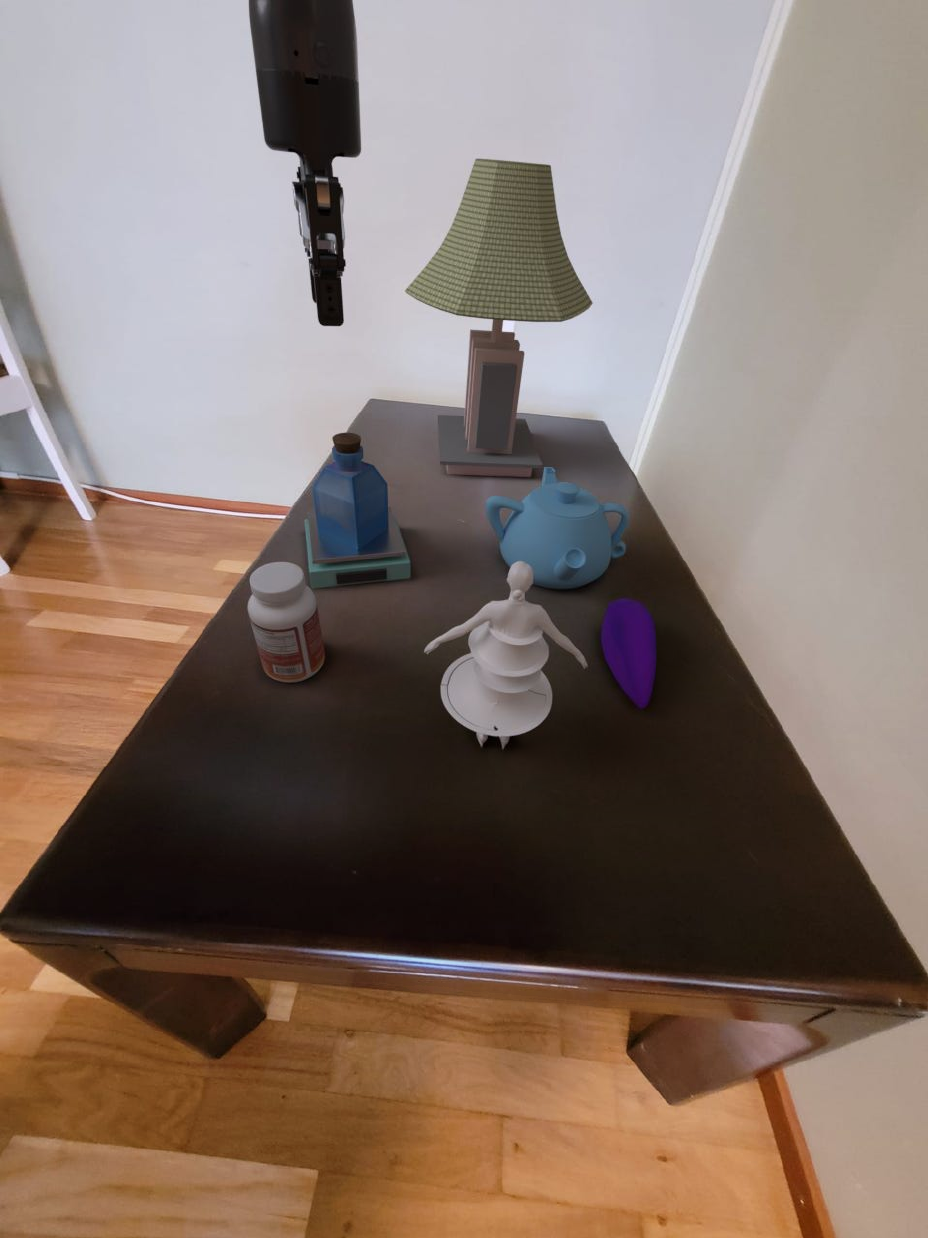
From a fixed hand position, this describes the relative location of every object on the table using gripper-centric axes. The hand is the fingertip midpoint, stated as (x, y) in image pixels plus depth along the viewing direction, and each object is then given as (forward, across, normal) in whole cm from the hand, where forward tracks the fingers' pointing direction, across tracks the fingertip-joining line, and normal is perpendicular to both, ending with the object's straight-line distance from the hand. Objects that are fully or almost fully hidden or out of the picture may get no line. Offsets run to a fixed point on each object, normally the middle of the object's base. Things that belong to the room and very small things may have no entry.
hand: (327, 313), depth 51 cm
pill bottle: (+29, +17, -7) cm, 34 cm away
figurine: (+28, +30, +10) cm, 43 cm away
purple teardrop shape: (+28, +24, +27) cm, 46 cm away
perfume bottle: (+25, -1, +1) cm, 25 cm away
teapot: (+28, +5, +26) cm, 39 cm away
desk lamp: (+28, -29, +27) cm, 49 cm away
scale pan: (+25, -1, +1) cm, 25 cm away
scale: (+28, -1, +1) cm, 28 cm away
